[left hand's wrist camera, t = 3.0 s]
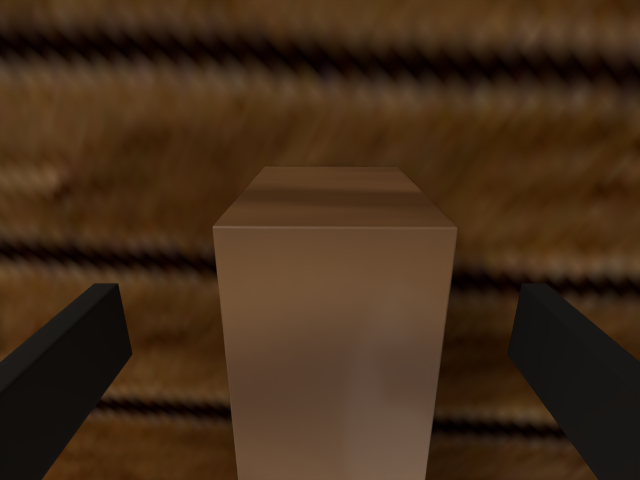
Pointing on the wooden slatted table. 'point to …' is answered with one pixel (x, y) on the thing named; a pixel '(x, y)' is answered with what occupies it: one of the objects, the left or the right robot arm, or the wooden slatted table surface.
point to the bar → (333, 322)
